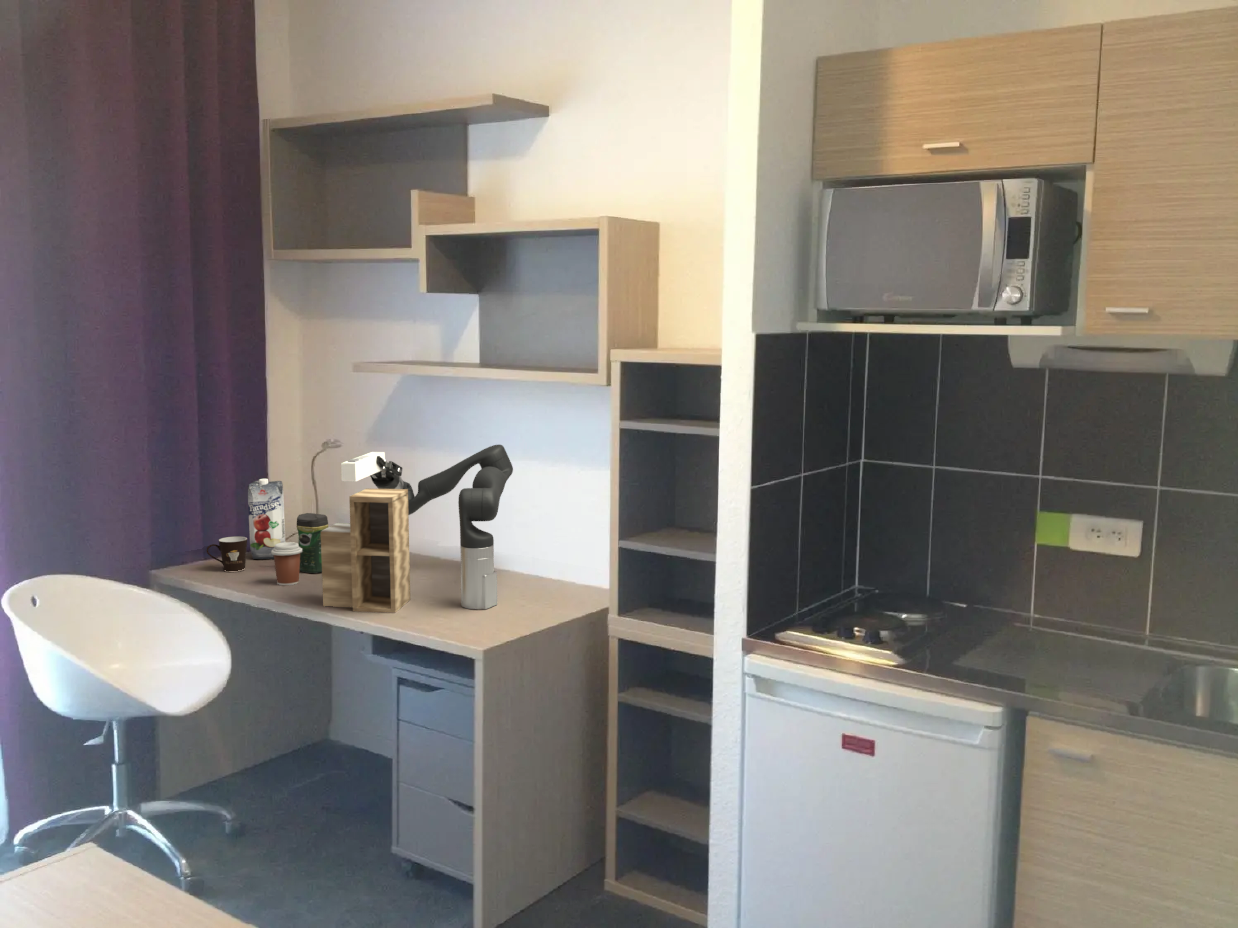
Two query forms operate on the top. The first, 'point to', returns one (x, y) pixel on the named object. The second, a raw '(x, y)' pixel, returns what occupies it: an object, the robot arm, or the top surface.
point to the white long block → (361, 466)
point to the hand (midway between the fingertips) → (370, 459)
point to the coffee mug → (232, 552)
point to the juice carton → (265, 517)
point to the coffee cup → (287, 562)
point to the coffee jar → (311, 541)
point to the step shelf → (369, 554)
